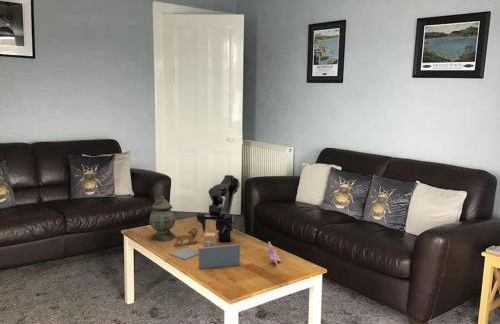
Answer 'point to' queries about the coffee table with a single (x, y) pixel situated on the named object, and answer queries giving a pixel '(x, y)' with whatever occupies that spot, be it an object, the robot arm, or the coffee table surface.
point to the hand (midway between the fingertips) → (212, 232)
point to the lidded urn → (162, 220)
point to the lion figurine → (187, 236)
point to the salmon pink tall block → (209, 239)
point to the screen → (219, 256)
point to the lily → (272, 253)
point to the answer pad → (184, 253)
